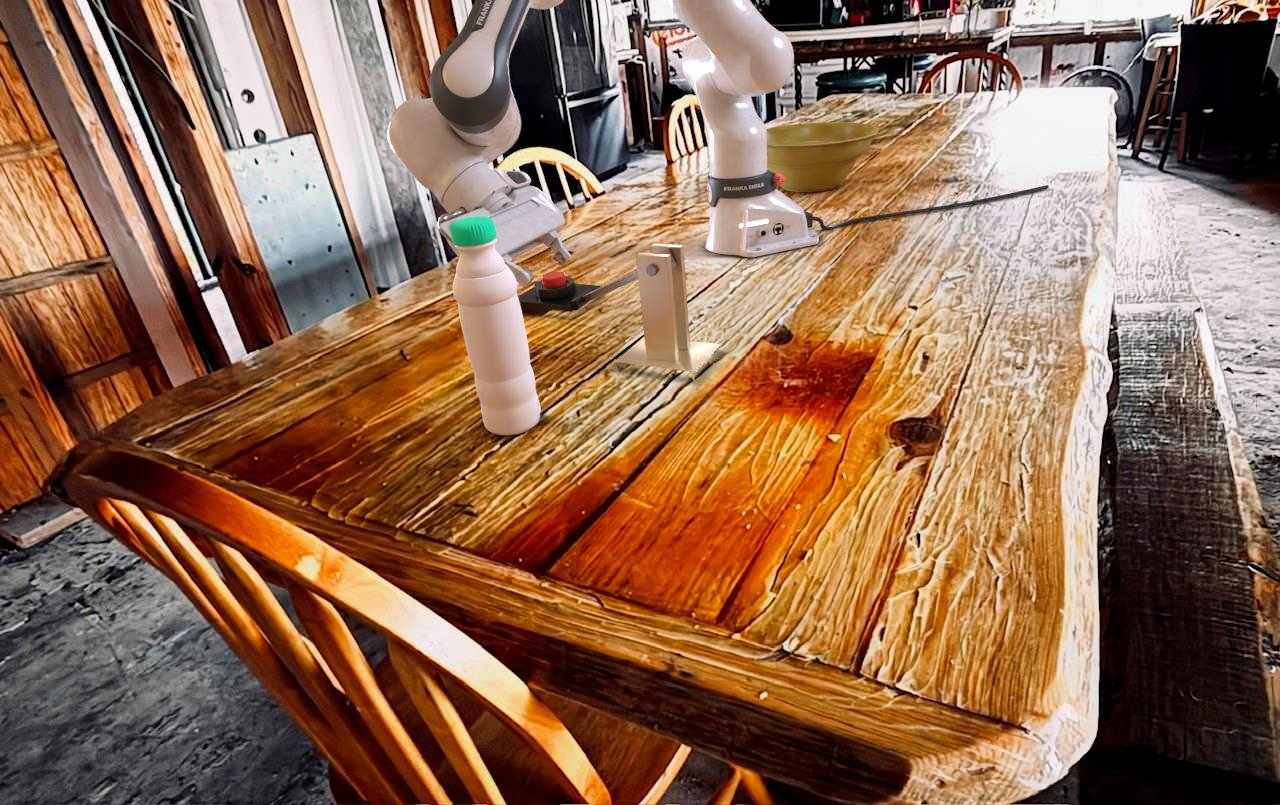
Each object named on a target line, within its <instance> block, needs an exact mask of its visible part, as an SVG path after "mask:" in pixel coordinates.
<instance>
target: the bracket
mask: <svg viewBox="0 0 1280 805" xmlns="http://www.w3.org/2000/svg"><path fill="white" fill-rule="evenodd" d="M667 249H669V250H670V252H671V254H672V256H673V258H674V260H675V262H676V264H677V266H676V267H674V268H673V269H672V268H671V255H670V254H659V253H661V252H663V251H665V250H667ZM684 249H685V248H684V245H683V244H668V243H667V244H665V243H652V244H651V245H649V250H650V252H649V253H648V252H638V253H637V254H636V255H635V259H636V269H637V270H638V279H637V280H638V288H639V298H640V307H641V317H642V328H643V336H642V337H641V338H640V339H639V340H638V341H637V342H636V343H635V344H634V345H632V346H631V348H629V349H628V350H627V351H625V353H623V354H622V355H621V356H620V357H619V358H618V359H617V360H615V363H620V364H627V365H628V364H629V365H638V366H645V367H652V368H659V369H667V370H675V371H682V372H689V373H697V372H698V371H699V370H700V369H701V368H702V367H703V365H704V364H706V362H707V361H708V360H709V359H710V358H711V357H712V356H713V355H714V353H716V351H717V350H718V349H719V348H720V346H721V345H722V344H720V343H711V342H703V341H702V342H701V341H692V340H691V337H690V336H691V335H690V324H689V323H690V322H689V308H688V296H687V295H688V294H687V293H688V292H687V278H686V266H685V251H684Z"/></svg>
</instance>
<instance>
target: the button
mask: <svg viewBox="0 0 1280 805" xmlns="http://www.w3.org/2000/svg"><path fill="white" fill-rule="evenodd" d="M565 277H566V274H565V272H563V271H550V272H546V273H545V274H542V275H541V280H542V283H543V287H547V288H553V287H559V286H562V285H565V284H566V278H565Z"/></svg>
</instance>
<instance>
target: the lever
mask: <svg viewBox="0 0 1280 805" xmlns="http://www.w3.org/2000/svg"><path fill="white" fill-rule="evenodd" d="M659 254H670V255H671V268H672V269H673V268H674V267H676V266H677V264H676V262H675V260H674V258H673V256H672V254H671V252H670V250H669V249H667V250H665V251H663V252H661V253H659ZM637 280H638V270H634V271H632V272H630V273H628V274H626V275H624V276H621V277H619V278H617V279H615V280H612V281H611V282H608V283H606V284H604V285H602V286H600V288H598V289H596V290H594V289H589V290H588V291H586V292H585V293H583V294H582V295H580V296H579V297H577V298H576V299H574V300H573V301H571V303H570V307H571V309H572V310H573V311H575V312H577V311H579V310H580V309H582V308H583V307H584V306H586V305H587V304H589V303H590V302H591V301H594V300H595V299H597V298H600V297H602V296H604V295H607V294H608V293H610V292H612V291H614V290H617V289H619V288H622V287H623V286H626V285H628V284H630V283H632V282H635V281H637Z"/></svg>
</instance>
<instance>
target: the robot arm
mask: <svg viewBox="0 0 1280 805" xmlns="http://www.w3.org/2000/svg"><path fill="white" fill-rule="evenodd" d="M563 2H564V0H474V3H473V5H472V7H471V9H470V12H469V14H468V16H467V19H466V21H465V23H464V25H463V27H462V29H461V30H460V32H459V34H458V35H457V36H456V37H455V39H454V40H453V41H452V42H451V44H449V46H447V47H446V49H444V50H443V51H442V53H441V54H440V55H439V57H438V58H437V60H436V61H435V63H434V64H433V67H432V68H431V72H430V76H429V92H430V96H431V97H428V98H415V97H413V98H409V99H407V100H404V101H403V103H401V104H400V105H399V106H398V107H397V108H396V110H395V111H394V113H393V114H392V116H391V118H390V120H389V125H388V128H387V140H388V144H389V146H390V149H391V150H392V152H393V153H394V155H395V156H396V157H397V159H398V160H399V161H400V163H401V164H402V165H403V166H404V168H405V169H406V171H408V172H409V173H410V174H411V175H412V177H413V178H415V180H416V181H417V182H418V183H419V184H420V185H421V186H423V187H424V188H425V189H427V190H428V191H430V192H432V194H434V196H435V197H436V198H437V201H438V203H439V204H440V206H442V208H443V209H444V210H445V211H446V212H447V213H444V214H442V215H440V216H439V217H438V221H437V229H438V232H439V233H440V234H441V235H442V236H443V237H444V238H445V239H446V241H447V243H448V245H449V247H450V248H451V250H452V251H453V252H454V254H455V255H456V256H457V258H458V259H459V258H460V253H459V250H458V249H456V248H455V244H454V243H453V241H452V238H451V233H450V226H451V224H452V223H453V222H455V221H457V220H459V219H462V218H467V217H474V216H486V217H489V218H491V219H492V220H493V222H494V224H495V228H496V234H497V237H496V240H497V241H496V243H495V249H496V251H497V253H498V254H499V255H500V256H501V257H502V258H503V260H504V261H505V264H506V265H507V266H508V267H509V269H510V270H511V271H512V273H513V274H514V276H515V278H516V281H517V284H518V285H520V286H521V287H522V288H524V287H527V286H528V285H530V284H532V283H533V281H534V280H535V274H534V273H533V272H531V270H530V269H529V268H528V267H525V268H522V267H521V266H519V265H518V264H516V263H515V262H513V259H515V258H517V257H519V256H521V255H523V254H525V253H526V252H528V251H531V250H532V249H534V248H536V247H538V246H539V245H542V244H544V245H545V246H546V248H550V249H551V251H552V253H553V256H552V259H553V260H554V261H555V262H556V263H557V264H558V265H559V266H562V265H564V264H566V263H568V262H569V260H570V259H571V257H572V255H571V253H570V252H569V251H568V250H567V249H566V247H565V246H564V243H563V241H562V237H561V235H560V234H559V233H560V232H561V230H562V229H563V228H564V226H565V224H566V220H565V216H564V214H563V212H562V211H561V210H560V209H559V208H558V207H557V205H556V204H555V203H554V202H553V201H552V200H551V199H550V198H549V197H548V196H547V195H546V194H545V193H544V192H543V191H541V189H539V188H538V187H536V186H533V185H530V184H531V182H532V179H531V178H530V176H529V175H528V174H527V173H525V172H524V171H523V170H522V171H521V170H507V169H501V168H497V167H495V168H493V167H492V166H491V165H490V163H492V162H494V161H495V160H496V159H498V158H500V157H501V156H502V155H504V154H505V153H507V152H508V151H509V150H510V149H511V148H512V147H514V145H515V144H516V143H517V141H518V140H519V137H520V134H521V131H522V117H521V114H520V110H519V107H518V104H517V100H516V98H515V94H514V93H513V90H512V86H511V78H510V67H509V66H510V57H511V53H512V51H513V48H514V46H515V44H516V42H517V39H518V36H519V34H520V31H521V29H522V26H523V24H524V22H525V19H526V17H527V14H528V13H529V10H530V8H531V9H535V10H550V9H552V8H555V7H558V6H560V5H561V4H562V3H563ZM668 2H669V4H670V6H671V8H672V11H673V12H674V14H675V16H676V18H677V19H678V20H679V21H680V22H681V23H682V24H683V25H684V26H686V27H687V28H688V29H689V30H691V31H692V32H693V34H695V35H696V37H694V38H693V39H692V40H690V41H689V42H688V44H686V46H685V49H684V51H683V54H682V58H681V70H682V73H683V76H684V79H685V81H686V82H687V84H689V86H690V87H691V88H692V90H693V92H694V94H695V96H696V99H697V102H698V105H699V109H700V112H701V116H702V118H703V123H704V126H705V130H706V138H707V151H708V167H709V174H708V175H707V183H706V186H707V201H708V203H709V212H708V213H709V220H708V221H709V222H708V230H707V236H706V241H705V244H704V247H705V249H706V250H707V251H709V252H711V253H714V254H720V255H728V256H740V257H743V258H744V257H745V258H757V257H762V256H766V255H767V256H768V255H772V254H776V253H781V252H785V251H790V250H795V249H800V248H805V247H810V246H815V245H817V244H819V243H820V236H819V233H818V232H817V231H816V230H815V229H813V224H814V223H813V221H814V222H815V221H816V222H817V223H818V224H819V226H820V228H821V229H822V230H824V231H830V230H834V229H839V228H843V227H846V226H848V225H851V224H854V223H859V222H865V221H873V220H879V219H886V218H894V217H901V216H908V215H909V216H910V215H915V214H922V213H928V212H934V211H935V212H936V211H942V210H947V209H954V208H960V207H966V206H973V205H976V204H982V203H988V202H992V201H993V202H994V201H998V200H1003V199H1007V198H1011V197H1016V196H1021V195H1026V194H1030V193H1034V192H1039V191H1043V190H1044V191H1045V190H1047V189H1049V188H1050V186H1049V185H1048V184H1046V185H1042V186H1037V187H1034V188H1033V187H1032V188H1028V189H1024V190H1020V191H1019V190H1018V191H1015V192H1010V193H1005V194H1000V195H995V196H991V197H990V196H989V197H985V198H984V197H983V198H980V199H974V200H968V201H963V202H957V203H951V204H945V205H938V206H932V207H931V206H930V207H926V208H925V207H924V208H919V209H912V210H911V209H910V210H904V211H898V212H897V211H896V212H890V213H884V214H876V215H869V216H868V215H867V216H862V217H855V218H851V219H849V220H846V221H844V222H842V223H839V224H837V225H834V226H827V225H825V224H824V220H823V219H822V218H820V217H819V216H814V214H813V213H811V212H809V211H807V210H804V209H803V207H802V206H801V205H799V204H798V203H797V202H796V201H794V200H793V199H792V198H791V197H789V196H788V195H787V194H785V193H783V192H782V191H780V190H779V189H777V187H781V185H783V184H784V182H785V181H784V180H786V179H784V178H785V177H783V175H781V174H779V173H777V174H776V173H774V172H772V171H770V170H768V168H767V130H766V129H767V127H766V125H765V123H764V122H763V120H762V119H761V118H760V117H759V115H758V113H757V111H756V108H755V105H754V102H753V98H754V97H760V96H763V95H767V94H771V93H775V92H776V91H778V90H780V89H782V87H784V86H785V85H786V83H787V82H788V81H789V79H790V77H791V75H792V72H793V69H794V64H795V54H794V52H795V51H794V47H793V45H792V43H791V41H790V39H789V38H788V36H787V35H786V34H785V33H783V32H782V31H780V30H778V29H776V28H775V26H773V25H772V24H770V23H769V22H768V21H767V20H766V18H765V17H764V16H763V15H762V14H761V13H760V11H758V8H756V7H755V5H754V4H753V3H752V1H751V0H668ZM752 97H753V98H752Z"/></svg>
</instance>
